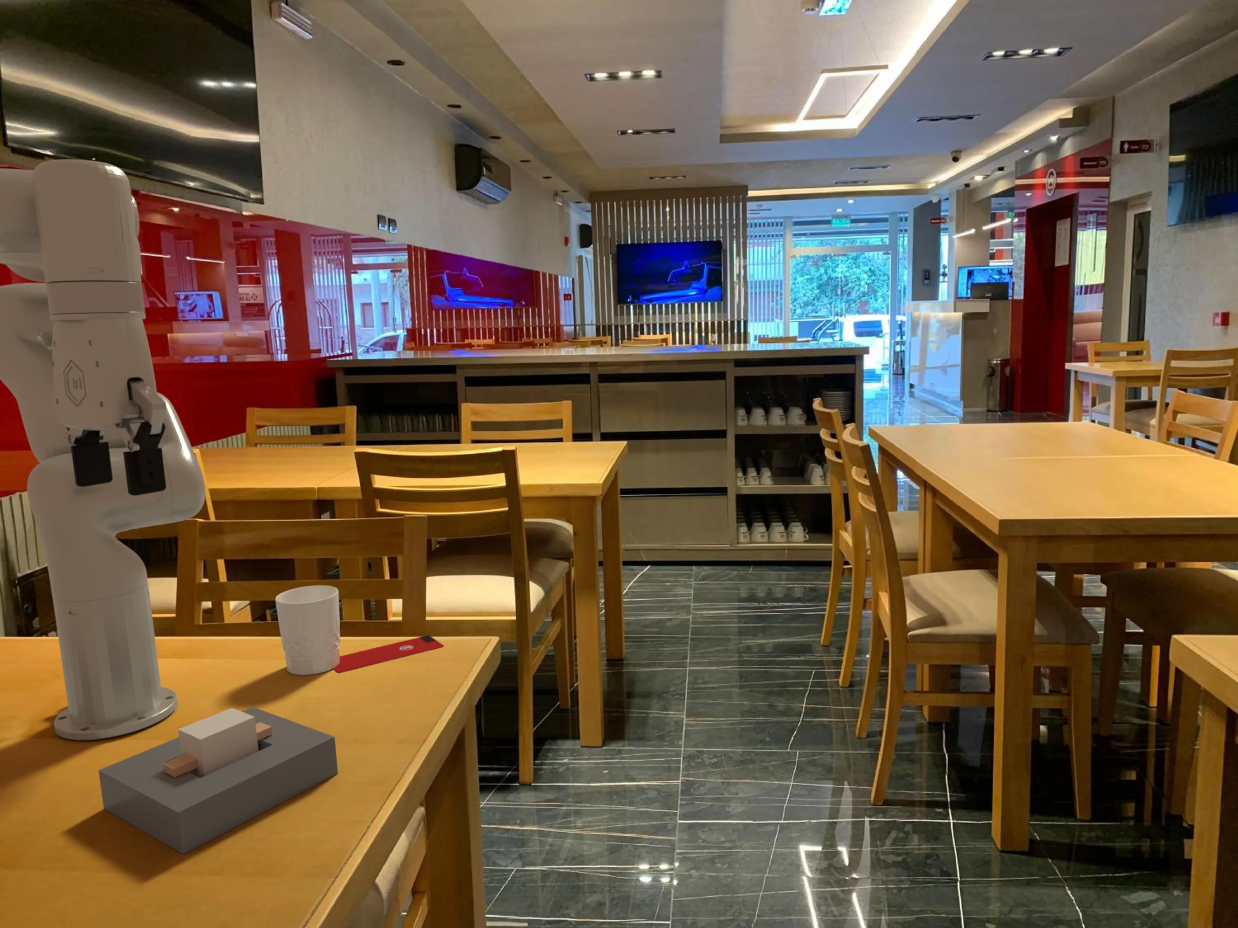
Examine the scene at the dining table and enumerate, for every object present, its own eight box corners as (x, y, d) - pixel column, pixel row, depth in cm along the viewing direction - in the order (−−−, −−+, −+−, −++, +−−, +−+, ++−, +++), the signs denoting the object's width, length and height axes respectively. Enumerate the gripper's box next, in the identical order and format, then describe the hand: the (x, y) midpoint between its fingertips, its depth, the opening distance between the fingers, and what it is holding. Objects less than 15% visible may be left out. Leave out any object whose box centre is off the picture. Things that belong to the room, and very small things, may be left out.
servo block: (161, 798, 82) (154, 738, 81) (258, 754, 90) (252, 699, 89) (184, 810, 80) (176, 749, 79) (281, 764, 88) (275, 708, 87)
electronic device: (338, 676, 114) (445, 649, 122) (337, 672, 114) (445, 645, 122) (325, 662, 119) (429, 637, 127) (324, 659, 119) (428, 634, 127)
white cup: (300, 654, 121) (293, 585, 119) (354, 655, 120) (348, 585, 118) (271, 677, 113) (263, 603, 112) (328, 678, 112) (321, 603, 111)
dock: (103, 808, 83) (98, 769, 82) (256, 740, 96) (252, 706, 95) (183, 854, 75) (178, 812, 74) (337, 772, 88) (334, 736, 87)
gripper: (9, 307, 81) (34, 488, 84) (101, 300, 71) (127, 504, 74) (94, 307, 87) (115, 475, 90) (189, 300, 78) (210, 489, 80)
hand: (120, 488), depth 82 cm, fingers open, 9 cm apart
